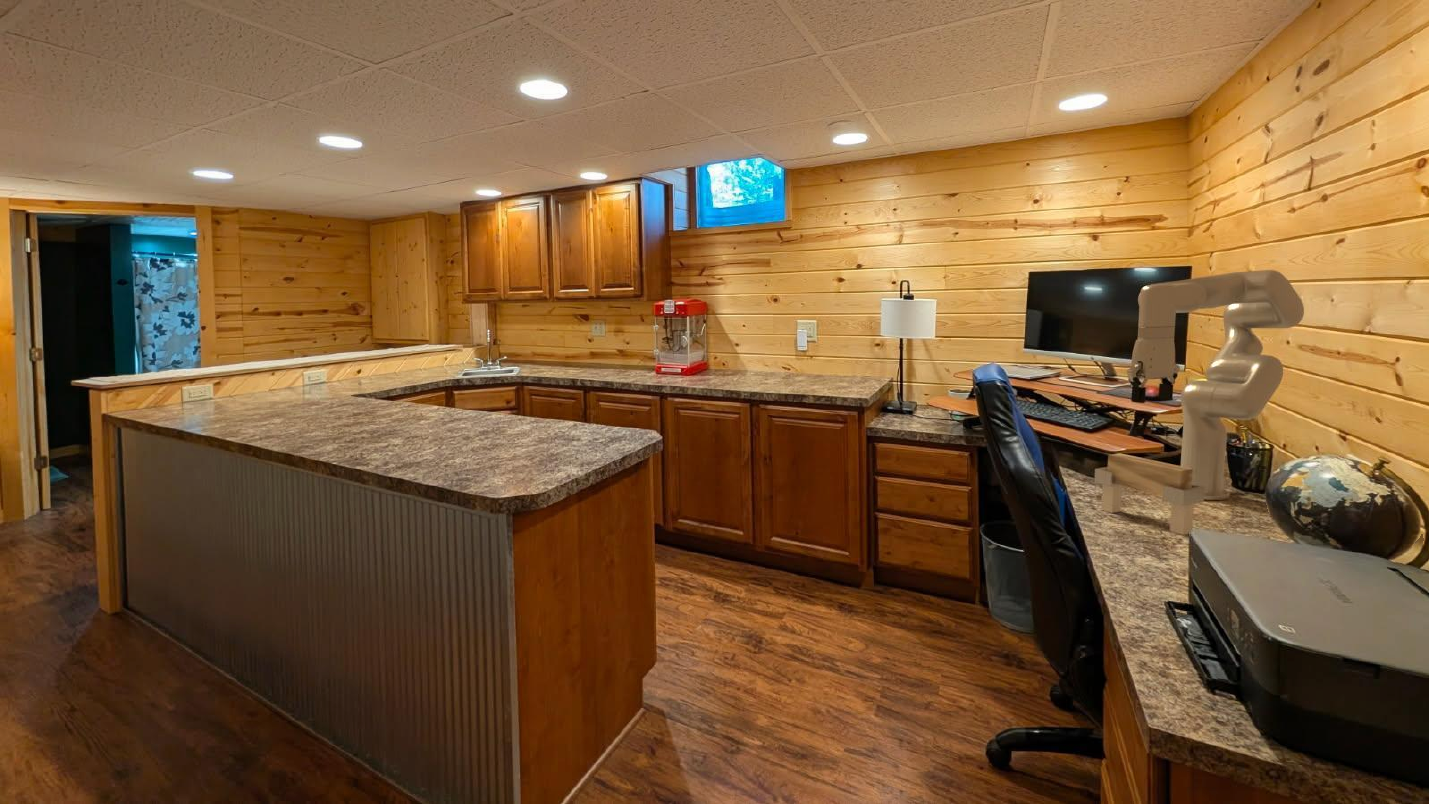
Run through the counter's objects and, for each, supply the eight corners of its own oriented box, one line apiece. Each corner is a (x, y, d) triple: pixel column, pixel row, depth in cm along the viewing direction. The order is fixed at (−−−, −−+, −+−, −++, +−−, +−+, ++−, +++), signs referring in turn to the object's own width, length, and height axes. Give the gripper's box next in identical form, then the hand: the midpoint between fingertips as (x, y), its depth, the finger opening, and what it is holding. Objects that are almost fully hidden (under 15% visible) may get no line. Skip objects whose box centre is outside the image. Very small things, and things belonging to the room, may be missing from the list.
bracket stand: (1112, 506, 164) (1114, 465, 162) (1201, 532, 143) (1204, 486, 141) (1093, 509, 162) (1095, 468, 160) (1180, 537, 141) (1184, 490, 139)
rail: (1118, 479, 160) (1119, 453, 159) (1190, 498, 143) (1193, 468, 142) (1106, 481, 159) (1108, 455, 158) (1178, 500, 142) (1180, 470, 141)
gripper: (1165, 332, 162) (1161, 396, 164) (1116, 335, 156) (1113, 401, 159) (1195, 332, 155) (1190, 399, 157) (1145, 336, 149) (1141, 405, 152)
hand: (1151, 400), depth 158 cm, fingers open, 9 cm apart
